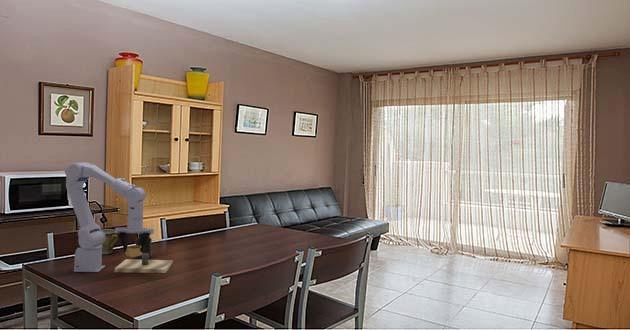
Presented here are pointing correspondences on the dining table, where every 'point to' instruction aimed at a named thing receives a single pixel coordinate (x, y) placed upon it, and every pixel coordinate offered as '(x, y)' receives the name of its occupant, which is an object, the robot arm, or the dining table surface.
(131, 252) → the wooden ring
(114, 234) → the ceramic cup
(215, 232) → the dining table surface
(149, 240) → the supplement bottle
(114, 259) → the dining table surface
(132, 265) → the piston block
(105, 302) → the dining table surface
